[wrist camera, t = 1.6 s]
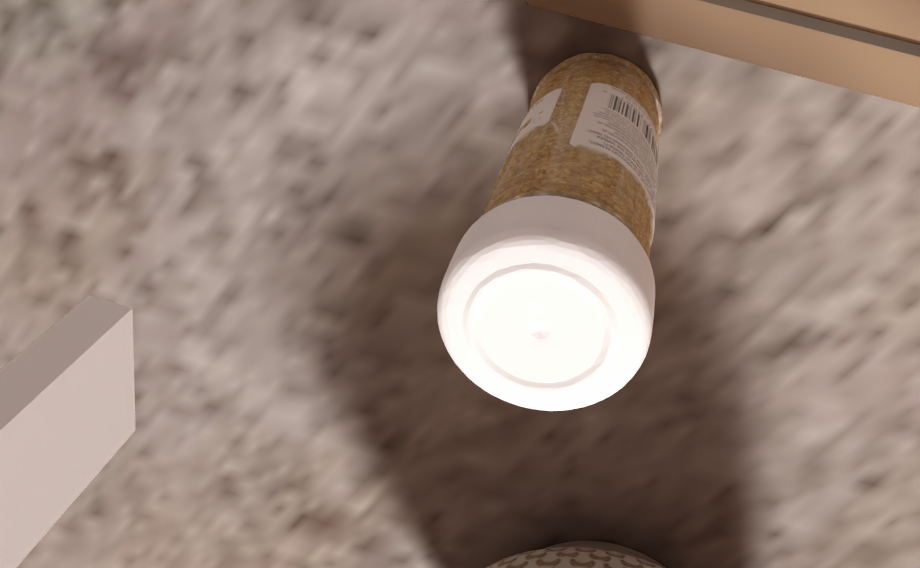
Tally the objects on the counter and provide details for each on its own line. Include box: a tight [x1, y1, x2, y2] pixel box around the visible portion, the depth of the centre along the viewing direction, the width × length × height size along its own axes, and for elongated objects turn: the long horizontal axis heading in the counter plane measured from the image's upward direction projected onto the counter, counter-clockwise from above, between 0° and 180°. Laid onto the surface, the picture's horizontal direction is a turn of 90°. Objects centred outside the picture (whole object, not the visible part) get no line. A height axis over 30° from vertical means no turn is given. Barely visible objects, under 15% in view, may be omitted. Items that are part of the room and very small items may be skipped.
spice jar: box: [437, 53, 663, 411], centre depth 23 cm, size 5×5×13 cm
